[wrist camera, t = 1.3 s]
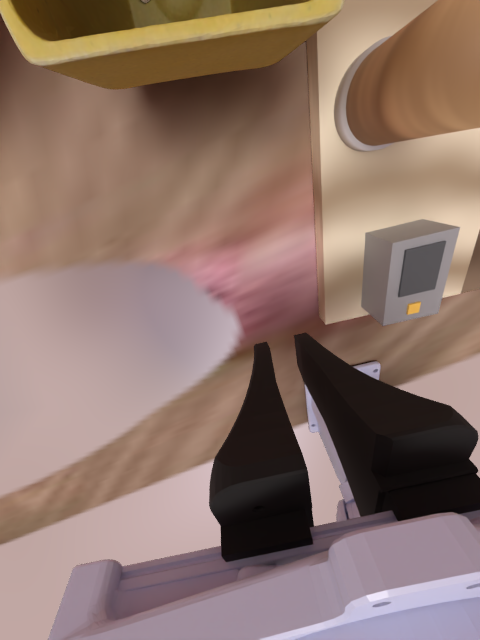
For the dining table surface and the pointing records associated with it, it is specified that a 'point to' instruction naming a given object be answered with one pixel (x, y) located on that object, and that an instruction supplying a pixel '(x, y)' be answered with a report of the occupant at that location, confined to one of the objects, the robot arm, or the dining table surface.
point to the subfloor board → (381, 169)
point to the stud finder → (406, 270)
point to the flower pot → (160, 36)
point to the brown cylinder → (414, 80)
